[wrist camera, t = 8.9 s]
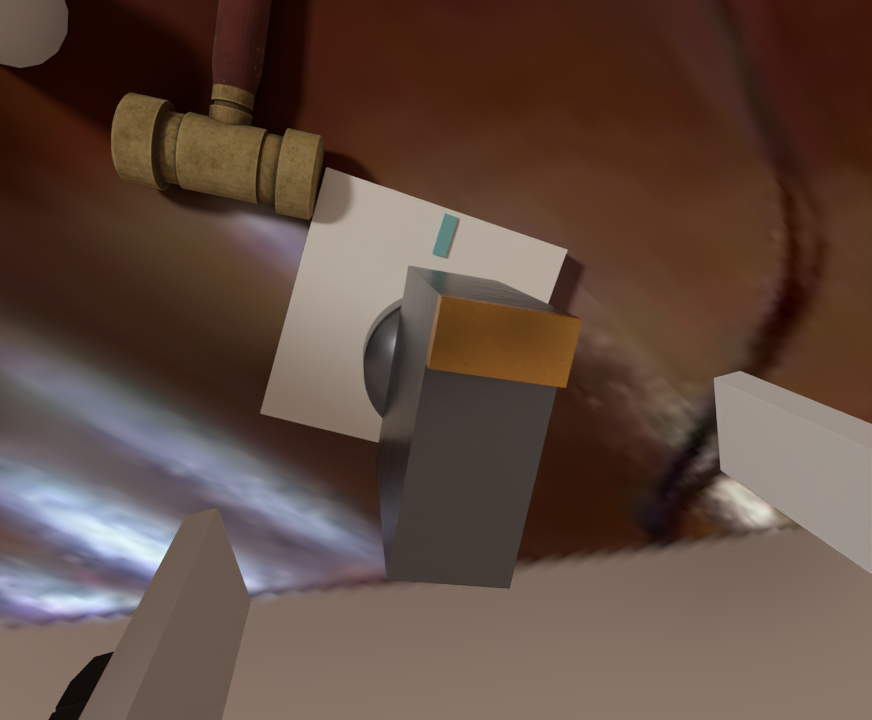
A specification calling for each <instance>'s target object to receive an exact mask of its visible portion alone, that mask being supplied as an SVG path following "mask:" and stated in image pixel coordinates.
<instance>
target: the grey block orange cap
mask: <svg viewBox="0 0 872 720" xmlns="http://www.w3.org/2000/svg"><path fill="white" fill-rule="evenodd" d="M581 323H582V319H580V318H578V317H576V316H574V315H571V314H569V313H567V312H565V311H563V310H560V309H558V308H556V307H554V306H552V305H549V304H547V303H545V302H543V301H541V300H539V299H536V298H534V297H532V296H530V295H528V294H525V293H523V292H521V291H519V290H517V289H514V288H512V287H510V286H508V285H506V284H504V283H501V282H499V281H496V280H490V279H484V278H478V277H473V276H467V275H461V274H455V273H450V272H444V271H438V270H432V269H426V268H421V267H415V266H409V265H408V270H407V276H406V282H405V288H404V294H403V298H401V299H399V300H397V301H395V302H394V303H392V304H390V305H389V306H388V307H387V308H385V309H384V310H383V311H382V312H381V313H380V314H379V315H378V316H377V318H376V319H375V320H374V322H373V323H372V325H371V327H370V329H369V330H368V333H367V336H366V338H365V342H364V347H363V370H364V382H365V388H366V391H367V394H368V397H369V400H370V402H371V404H372V406H373V407H374V409H375V410H376V411H377V413H378V414H379V415H380V416H381V417H382V425H381V431H380V437H379V443H378V449H377V455H376V467H377V479H378V490H379V501H380V512H381V523H382V534H383V545H384V556H385V568H386V579H387V580H397V581H411V582H425V583H439V584H453V585H468V586H481V587H482V586H483V587H495V588H510V584H511V580H512V576H513V572H514V567H515V563H516V559H517V555H518V551H519V546H520V542H521V538H522V534H523V529H524V525H525V521H526V517H527V513H528V508H529V504H530V500H531V496H532V492H533V487H534V483H535V479H536V475H537V471H538V466H539V462H540V458H541V454H542V449H543V445H544V441H545V437H546V433H547V428H548V424H549V420H550V416H551V412H552V407H553V403H554V399H555V395H556V391H557V387H562V388H566V385H567V381H568V377H569V373H570V369H571V364H572V360H573V356H574V352H575V348H576V344H577V340H578V335H579V331H580V327H581Z"/></svg>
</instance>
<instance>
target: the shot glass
mask: <svg viewBox="0 0 872 720" xmlns="http://www.w3.org/2000/svg"><path fill="white" fill-rule="evenodd" d="M67 27H68V9H67V6H66V3H65V0H0V64H4V65H9V66H13V67H18V68H23V67H28V66H34V65H39V64H42V63H44V62H45V61H46V60H48V59H49V58H50V57H52V56H53V55H54V54H56V53H57V52H58V51H59V49H60V47H61V45H62V43H63V41H64V39H65V37H66V35H67Z"/></svg>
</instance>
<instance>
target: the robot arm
mask: <svg viewBox="0 0 872 720" xmlns="http://www.w3.org/2000/svg"><path fill="white" fill-rule="evenodd" d="M714 386H715V400H716V414H717V427H718V441H719V455H720V469H721V471H723V472H724V473H726V474H727V475H728V476H730V477H731V478H733V479H734V480H736V481H737V482H739V483H740V484H741V485H743V486H744V487H746V488H747V489H749V490H750V491H752V492H753V493H755V494H756V495H757V496H759V497H760V498H762V499H763V500H765V501H766V502H768V503H769V504H771V505H772V506H773V507H775V508H776V509H778V510H779V511H781V512H782V513H784V514H785V515H786V516H788V517H789V518H791V519H792V520H794V521H795V522H797V523H798V524H800V525H801V526H802V527H804V528H805V529H807V530H808V531H810V532H811V533H813V534H814V535H815V536H817V537H819V538H820V539H821V540H823V541H824V542H826V543H827V544H829V545H830V546H831V547H833V548H834V549H836V550H837V551H839V552H840V553H842V554H843V555H845V556H846V557H848V558H849V559H851V560H852V561H853V562H855V563H856V564H858V565H859V566H861V567H862V568H863V569H865V570H867V571H868V572H869V573H871V574H872V424H870V423H868V422H865V421H863V420H860V419H858V418H855V417H853V416H850V415H848V414H845V413H843V412H840V411H838V410H835V409H833V408H830V407H828V406H825V405H823V404H821V403H818V402H816V401H813V400H811V399H808V398H806V397H803V396H801V395H798V394H796V393H793V392H791V391H788V390H786V389H783V388H781V387H778V386H776V385H773V384H771V383H769V382H766V381H764V380H761V379H759V378H756V377H754V376H751V375H749V374H746V373H744V372H741V371H739V372H735V373H732V374H728V375H724V376H720V377H716V378H714ZM250 602H251V600H250V597H249V594H248V591H247V589H246V586H245V583H244V580H243V577H242V575H241V572H240V569H239V566H238V564H237V561H236V558H235V555H234V553H233V550H232V547H231V544H230V541H229V539H228V536H227V533H226V530H225V528H224V525H223V522H222V519H221V516H220V514H219V511H218V508H215V509H211V510H207V511H203V512H199V513H196V514H192V515H188V516H185V518H184V520H183V522H182V524H181V526H180V528H179V530H178V532H177V534H176V535H175V537H174V539H173V541H172V543H171V545H170V547H169V549H168V551H167V553H166V554H165V556H164V558H163V560H162V562H161V564H160V566H159V568H158V570H157V572H156V573H155V575H154V577H153V579H152V581H151V583H150V585H149V587H148V589H147V591H146V592H145V594H144V596H143V598H142V600H141V602H140V604H139V606H138V608H137V609H136V611H135V613H134V615H133V617H132V619H131V621H130V623H129V625H128V627H127V628H126V630H125V633H124V634H123V636H122V638H121V640H120V642H119V644H118V646H117V648H116V649H115V651H114V652H110V653H107V654H103V655H100V656H96V657H94V658H93V659H92V660H91V661H90V662H89V663H88V664H87V665H86V666H85V667H84V669H83V670H82V671H81V672H80V673H79V674H78V675H77V676H76V677H75V678H74V679H73V680H72V681H71V682H70V684H69V685H68V687H67V689H66V691H65V692H64V694H63V696H62V697H61V699H60V701H59V703H58V705H57V706H56V712H54V713H52V714H51V716H50V718H49V720H222V716H223V712H224V708H225V704H226V700H227V696H228V692H229V688H230V683H231V680H232V675H233V671H234V667H235V663H236V659H237V655H238V651H239V647H240V643H241V639H242V635H243V630H244V626H245V622H246V618H247V614H248V610H249V606H250Z"/></svg>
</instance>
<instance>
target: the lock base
mask: <svg viewBox="0 0 872 720" xmlns="http://www.w3.org/2000/svg"><path fill="white" fill-rule="evenodd" d="M566 253H567V249H564V248H561V247H558V246H555V245H552V244H549V243H546V242H543V241H540V240H537V239H534V238H532V237H529V236H526V235H523V234H520V233H517V232H514V231H511V230H508V229H505V228H502V227H499V226H497V225H494V224H491V223H488V222H485V221H482V220H479V219H476V218H473V217H470V216H467V215H465V214H462V213H459V212H456V211H453V210H450V209H447V208H444V207H441V206H438V205H435V204H432V203H430V202H427V201H424V200H421V199H418V198H415V197H412V196H409V195H406V194H403V193H400V192H397V191H395V190H392V189H389V188H386V187H383V186H380V185H377V184H374V183H371V182H368V181H365V180H362V179H360V178H357V177H354V176H351V175H348V174H345V173H342V172H339V171H336V170H333V169H330V168H328V167H326V170H325V174H324V177H323V181H322V185H321V189H320V192H319V196H318V200H317V203H316V207H315V211H314V215H313V218H312V222H311V226H310V229H309V233H308V237H307V241H306V244H305V248H304V252H303V256H302V259H301V263H300V267H299V270H298V274H297V278H296V282H295V285H294V289H293V293H292V296H291V300H290V304H289V308H288V311H287V315H286V319H285V322H284V326H283V330H282V334H281V337H280V341H279V345H278V348H277V352H276V356H275V360H274V363H273V367H272V371H271V374H270V378H269V382H268V386H267V389H266V393H265V397H264V400H263V404H262V408H261V412H260V414H264V415H268V416H272V417H276V418H280V419H284V420H288V421H292V422H296V423H300V424H304V425H308V426H313V427H317V428H321V429H325V430H329V431H333V432H337V433H341V434H345V435H349V436H353V437H357V438H361V439H365V440H370V441H374V442H378V443H379V437H380V431H381V425H382V417H381V416H380V415H379V414H378V413H377V411H376V410H375V409H374V407H373V406H372V404H371V402H370V400H369V397H368V394H367V391H366V388H365V382H364V370H363V347H364V342H365V338H366V336H367V333H368V330H369V329H370V327H371V325H372V323H373V322H374V320H375V319H376V318H377V316H378V315H379V314H380V313H381V312H382V311H383V310H384V309H385V308H387V307H388V306H389V305H390V304H392V303H394V302H395V301H397V300H399V299H401V298H403V294H404V288H405V282H406V276H407V270H408V265H409V266H415V267H421V268H426V269H432V270H438V271H444V272H450V273H455V274H461V275H467V276H473V277H478V278H484V279H490V280H496V281H499V282H501V283H504V284H506V285H508V286H510V287H512V288H514V289H517V290H519V291H521V292H523V293H525V294H528V295H530V296H532V297H534V298H536V299H539V300H541V301H543V302H545V303H547V304H548V302H549V300H550V297H551V294H552V291H553V288H554V286H555V283H556V280H557V277H558V275H559V272H560V269H561V266H562V264H563V261H564V258H565V255H566Z"/></svg>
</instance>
